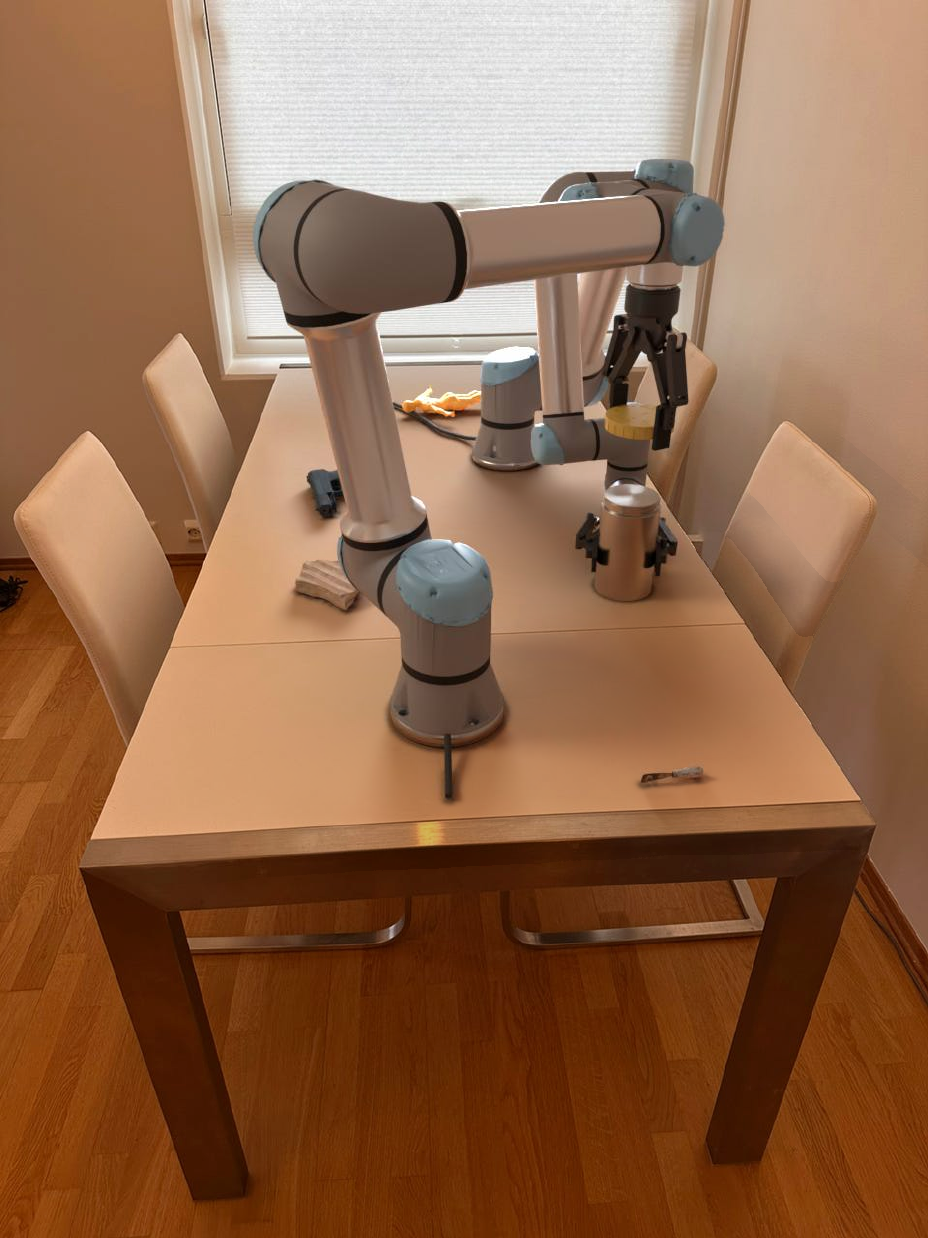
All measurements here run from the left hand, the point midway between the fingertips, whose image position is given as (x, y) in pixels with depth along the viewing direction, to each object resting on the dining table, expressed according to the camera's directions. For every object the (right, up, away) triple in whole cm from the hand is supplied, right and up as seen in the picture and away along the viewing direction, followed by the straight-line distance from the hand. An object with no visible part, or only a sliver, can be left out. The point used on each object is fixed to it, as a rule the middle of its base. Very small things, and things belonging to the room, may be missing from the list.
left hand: (637, 436), depth 136 cm
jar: (0, -22, +14) cm, 26 cm away
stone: (-48, -23, +13) cm, 55 cm away
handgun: (-52, -3, +45) cm, 69 cm away
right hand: (-1, -19, +7) cm, 21 cm away
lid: (0, +3, -2) cm, 3 cm away
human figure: (-30, +25, +90) cm, 98 cm away
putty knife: (-1, -48, -26) cm, 54 cm away
